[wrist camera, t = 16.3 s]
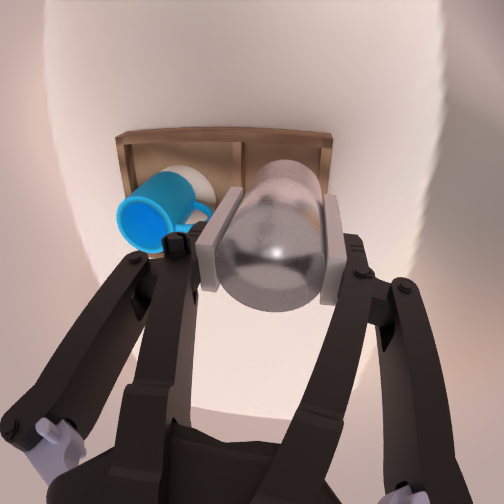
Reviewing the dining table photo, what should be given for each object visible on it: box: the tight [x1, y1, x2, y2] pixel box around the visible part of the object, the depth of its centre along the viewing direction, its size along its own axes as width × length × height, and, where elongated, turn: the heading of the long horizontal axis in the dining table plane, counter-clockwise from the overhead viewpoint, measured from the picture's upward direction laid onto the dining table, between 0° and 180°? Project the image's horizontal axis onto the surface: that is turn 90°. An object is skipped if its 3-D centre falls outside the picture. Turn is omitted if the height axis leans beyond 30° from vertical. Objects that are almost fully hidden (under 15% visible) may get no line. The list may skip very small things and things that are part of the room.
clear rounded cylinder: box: [215, 160, 326, 312], centre depth 16 cm, size 5×5×9 cm
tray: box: [115, 127, 333, 258], centre depth 39 cm, size 20×28×3 cm
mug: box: [117, 171, 214, 254], centre depth 37 cm, size 12×8×8 cm
